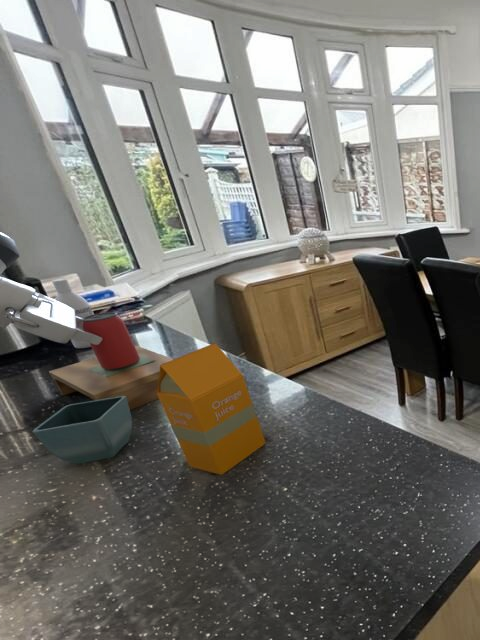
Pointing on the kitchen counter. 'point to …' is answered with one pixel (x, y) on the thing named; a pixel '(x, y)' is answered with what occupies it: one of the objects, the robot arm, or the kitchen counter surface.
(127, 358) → the beer can
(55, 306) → the robot arm
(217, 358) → the orange juice
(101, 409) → the flower pot
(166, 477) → the kitchen counter surface
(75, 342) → the bath foam
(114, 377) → the wooden slab
